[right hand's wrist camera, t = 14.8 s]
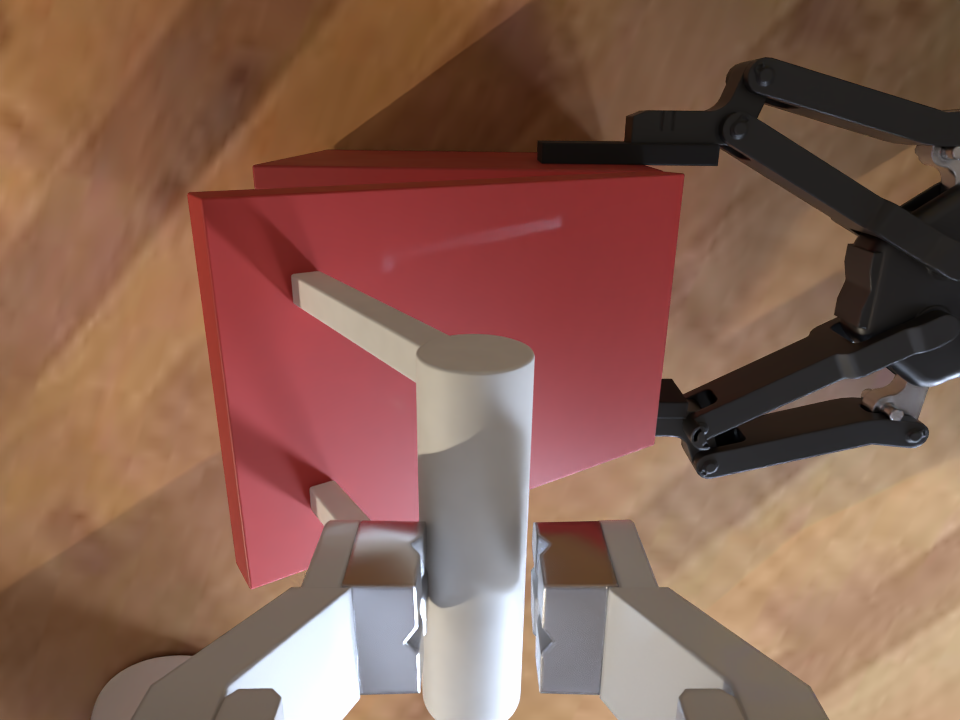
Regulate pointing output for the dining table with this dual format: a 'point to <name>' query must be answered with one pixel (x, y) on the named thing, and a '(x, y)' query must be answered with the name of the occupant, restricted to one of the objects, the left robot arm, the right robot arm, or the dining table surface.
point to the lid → (432, 376)
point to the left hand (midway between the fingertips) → (534, 281)
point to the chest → (412, 167)
